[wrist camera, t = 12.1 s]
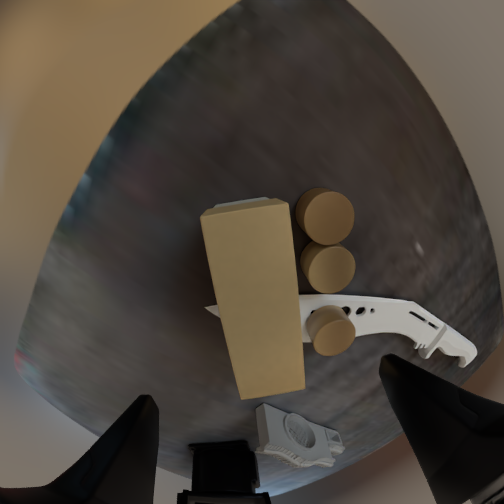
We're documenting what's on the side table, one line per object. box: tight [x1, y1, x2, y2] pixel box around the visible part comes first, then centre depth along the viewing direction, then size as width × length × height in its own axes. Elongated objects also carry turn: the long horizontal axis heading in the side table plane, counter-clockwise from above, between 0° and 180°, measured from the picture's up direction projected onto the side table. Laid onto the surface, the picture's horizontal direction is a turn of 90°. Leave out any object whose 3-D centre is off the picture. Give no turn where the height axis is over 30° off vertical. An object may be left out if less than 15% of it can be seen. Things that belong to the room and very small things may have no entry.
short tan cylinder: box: [300, 241, 355, 294], centre depth 16 cm, size 3×3×2 cm
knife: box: [204, 294, 477, 367], centre depth 20 cm, size 30×2×8 cm
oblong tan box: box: [200, 197, 305, 400], centre depth 14 cm, size 4×10×5 cm, turn 8°
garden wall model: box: [255, 403, 345, 468], centre depth 20 cm, size 12×2×6 cm, turn 48°
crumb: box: [295, 188, 354, 245], centre depth 15 cm, size 3×3×2 cm
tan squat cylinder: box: [306, 305, 356, 356], centre depth 17 cm, size 3×3×2 cm
